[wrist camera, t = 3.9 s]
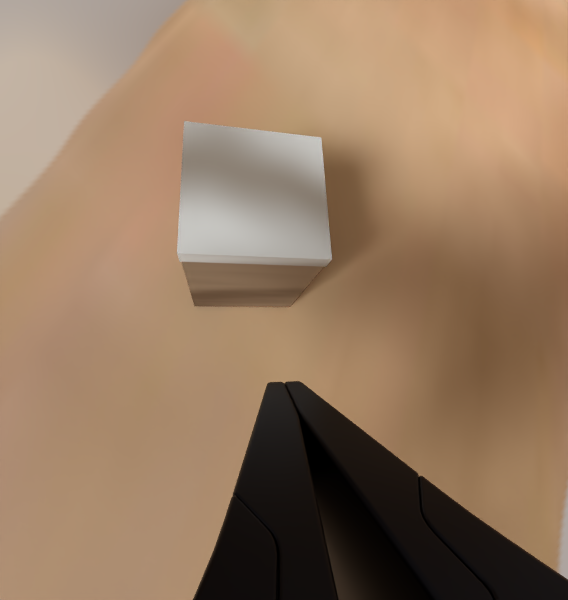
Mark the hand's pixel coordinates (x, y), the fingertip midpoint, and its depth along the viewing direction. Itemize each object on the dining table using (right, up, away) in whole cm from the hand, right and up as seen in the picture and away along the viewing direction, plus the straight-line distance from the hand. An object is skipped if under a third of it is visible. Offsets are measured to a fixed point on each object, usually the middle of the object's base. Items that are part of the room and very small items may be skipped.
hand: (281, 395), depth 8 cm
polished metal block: (-3, +5, +13) cm, 14 cm away
